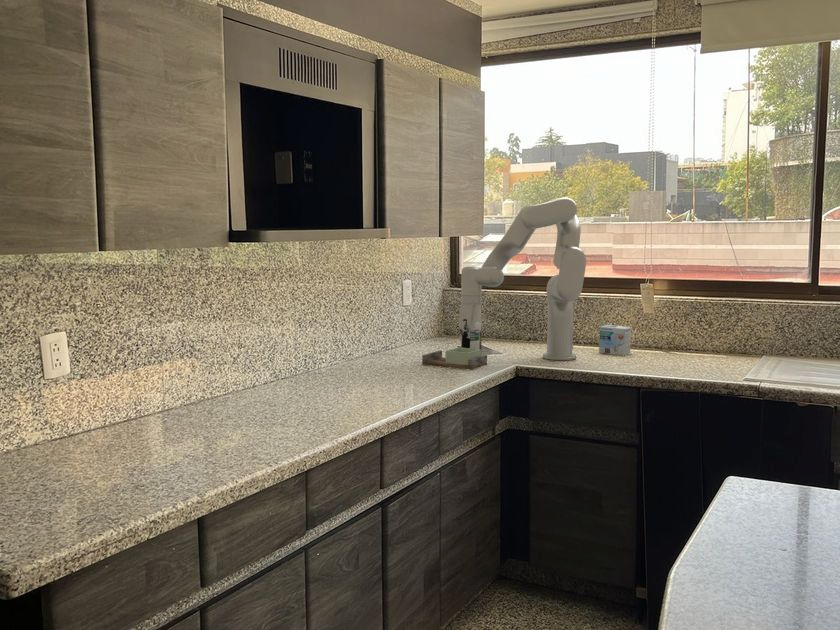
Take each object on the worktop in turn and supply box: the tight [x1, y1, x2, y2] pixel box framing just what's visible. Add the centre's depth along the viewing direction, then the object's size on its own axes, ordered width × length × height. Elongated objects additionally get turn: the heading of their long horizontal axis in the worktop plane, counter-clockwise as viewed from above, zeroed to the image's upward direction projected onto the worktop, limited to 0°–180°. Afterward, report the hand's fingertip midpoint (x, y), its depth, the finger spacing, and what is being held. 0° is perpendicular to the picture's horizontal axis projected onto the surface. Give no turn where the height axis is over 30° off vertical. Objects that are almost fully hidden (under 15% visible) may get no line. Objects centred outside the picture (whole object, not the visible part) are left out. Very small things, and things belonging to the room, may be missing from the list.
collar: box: [445, 347, 482, 365], centre depth 275 cm, size 9×9×4 cm
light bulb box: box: [598, 324, 632, 356], centre depth 301 cm, size 11×7×11 cm, turn 55°
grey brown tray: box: [421, 350, 488, 371], centre depth 277 cm, size 12×20×4 cm, turn 59°
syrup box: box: [460, 322, 482, 350], centre depth 286 cm, size 6×6×14 cm
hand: (470, 346), depth 286 cm, fingers closed on syrup box, 7 cm apart
